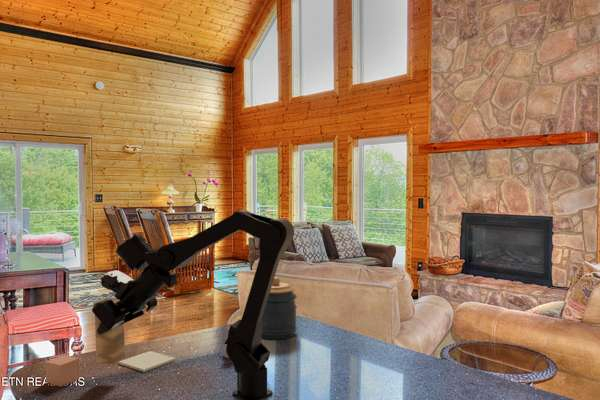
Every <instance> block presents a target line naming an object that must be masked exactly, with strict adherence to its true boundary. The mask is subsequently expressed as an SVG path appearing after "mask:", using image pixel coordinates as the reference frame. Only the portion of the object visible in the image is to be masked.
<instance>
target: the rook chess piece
mask: <svg viewBox="0 0 600 400" xmlns="http://www.w3.org/2000/svg"><path fill="white" fill-rule="evenodd" d="M229 328H230V325H227V326H225V330H224V331H225V333H226V334H225V337H226V339H227V338H228V333H229ZM226 346H227V344H225V346H224V348H223V350H222V352H223V353H222V356H223V357H224V358H225V359H227V360H228V359H229V360H231V359H230V358H229V357H228V354H227V353H226Z"/></svg>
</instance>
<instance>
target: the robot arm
mask: <svg viewBox="0 0 600 400" xmlns="http://www.w3.org/2000/svg"><path fill="white" fill-rule="evenodd" d="M240 231H242V232H244V233H246V234H248V235H250V236H251V237H255V238H256V239H257V238H258V239H259V240H258V241H259V242H258V249H259V250H258V251H259V253H258V254H259V259H258V262H257V266H256V269H255V273H254V277H253V279H252V283H251V286H250V290H249V293H248V296H247V300H246V303H245V306H244V309H243V314H242V317H241V319H240V318H239V319H238V320H236V321H235V322H233V323H232V324H230V325H229V327H230V328H229V333H228V338H227V337H226V340H225V341H224V345H225V346H226V344H227V346H226V353H227V354H228V357H229V358H230V359H229V360H231V362H232V365H233V369H234V371H235V373H237V377H236V378H237V379H236V380H237V381H236V382H237V383H236V384H237V387H236V390H233V391H232V393H231V394H232V395H233V396H235V397H237V398H240V399H241V400H262V399H265V398H266V397H268V396H271V395H273V393H274V392H273V391H272V390H270V389H268V367H267V366H266V363H267V362H268V361H269V360H270V359H269V358H270V355H271V351H270V350H269V349H268V348H267V346H265V345H264V344H263V342H262V338H261V336H262V325H261V321H262V317H263V313H264V310H265V307H266V303H267V300H268V297H269V293H270V290H271V287H272V284H273V280H274V277H276V273H277V269H278V266H279V263H280V261H281V259H282V258H283V256H284V254H285V253H286V251H287V250H288V248H289V246H290V244H291V242H292V240H293V238H294V235H295V228H294V225H293V224H292V222H290V220H288V219H286V218H275V219H274V218H271V217H268V216H264V215H260V214H258V213H256V214H255V213H254V212H250V211H248V210H244V209H243V210H237V211H235V212H233V213H232V214H231V215H229V216H228V217H226V218H224V219H222V220H220V221H217V222H216V223H214V224H213V225H211V226H209V227H207V228H204V230H202V231H200V232H197V233H196V234H194V235H193V236H191V237H188V238H184V239H181V240H177V241H174V242H171V243H168V244H166V245H165V244H164V245H163V246H161V247H159V248H156V249H153V248H152V247H151V246H150V245H149V244H148V243H147V241H146V239H144V237H143V236H142V235H141V234H140V233H138V234H137V233H136V234H134V235H133V236H132V237H130V238H129V239H127V240H125V241H124V242H123V243H120V244H119V246H118V247H117V248H116V250H115V253H116V255H117V256H118V257H119V259H121V260H122V262H124V264H125V265H126V266H127V267H128V268H129V270H130V271H135V270H137V271H138V272H140V274H139V275H138V276H136V278H135V279H134V278H132V277H131V276H129V275H127V274H126V273H124V272H122V271H120V270H116V269H115V270H111V271H108V272H106V273H105V274H103V276H102V277H100V285H101V286H102V288H104V289H106V290H108V291H112V292H113V293H114V295H113V297H115V299H119V300H120V301H118V302H116V303H114V302H113V301H112V300H108V299H109V298H105V299H106V300H104V299H103V300H104V301H101V300H100V301H101V302H98V301H97V302H98V303H96V302H95V303H96V305H95V306H94V305H93V307H91V312H92V313H93V314H94V316H95V315H96V316H97V318H98V319H99V320H100V321H101V323H100V325H99V327H98V330H97V333H98V334H99V335H100V334H103V333H105V332H107V331H109V330H111V329H114V328H116V327H118V326H120V325H122V324H124V325H125V324H126V323H128V322H131V321H133V320H134V319H137V318H139V317H142V316H144V314H145V312H146V313H149V312H151V311H153V310H154V309H155V308H156V307H157V305H158V299H157V298H156V297H157V296H158V294H157V293H158V292H159V291H160V290H161V289H162V288H163V287H164V286H165V285H166V287H168V288H172V287H174V286H176V285H178V279H177V276H178V274H177V273H176V272H175V273H172V272H171V271H173V270H177V269H180V268H183V267H186V266H187V265H188V264H189V263H191V262H192V261H193V260H194V259H196V257H197V256H199V255H200V253H202V252H203V251H204V250H206V249H208V248H210V247H212V246H214V245H215V244H218V243H219V242H222V241H224V240H225V239H227V238H229V237H231V236H232V235H235V234H237V233H238V232H239V233H240ZM144 310H145V312H144ZM123 321H124V323H123Z"/></svg>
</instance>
